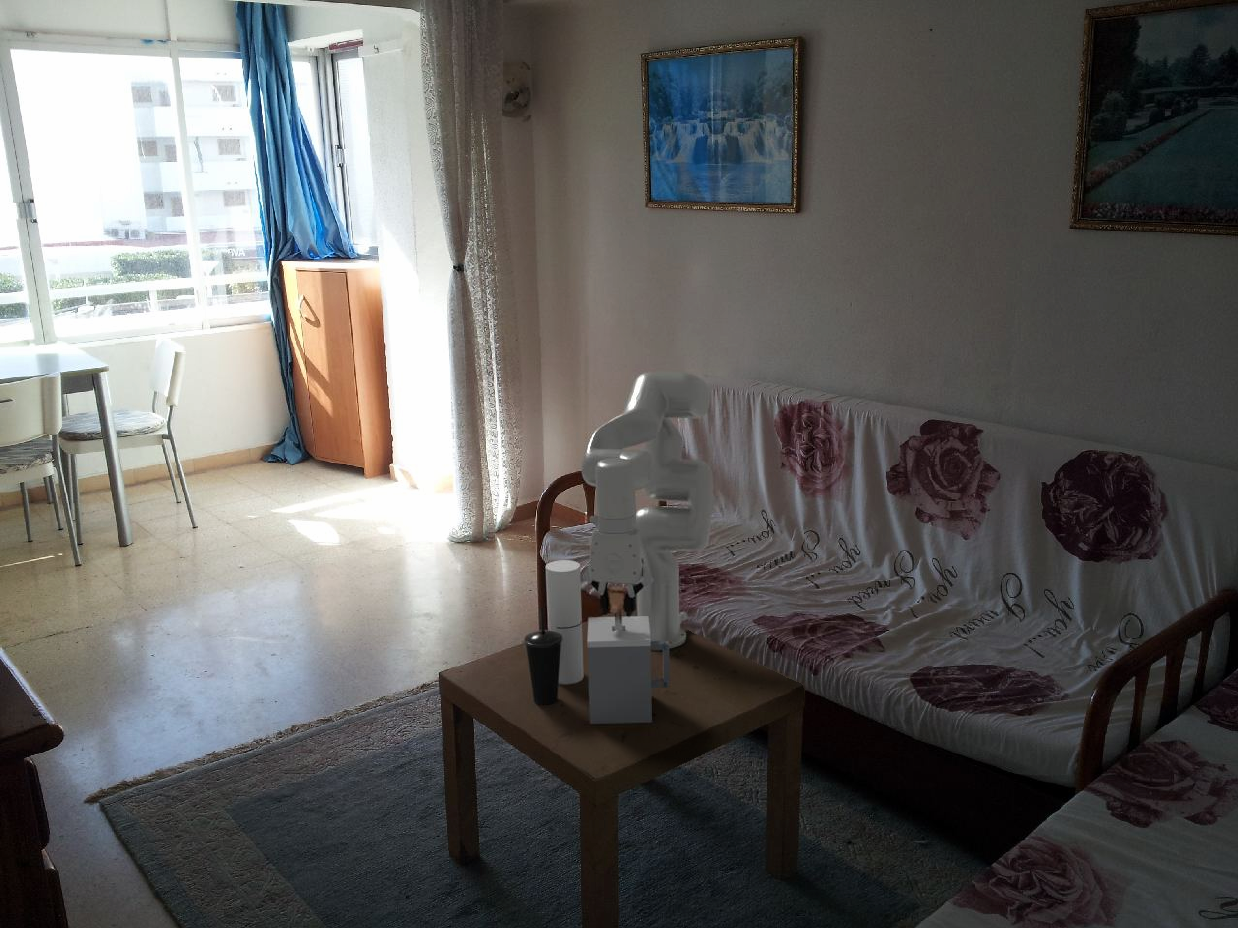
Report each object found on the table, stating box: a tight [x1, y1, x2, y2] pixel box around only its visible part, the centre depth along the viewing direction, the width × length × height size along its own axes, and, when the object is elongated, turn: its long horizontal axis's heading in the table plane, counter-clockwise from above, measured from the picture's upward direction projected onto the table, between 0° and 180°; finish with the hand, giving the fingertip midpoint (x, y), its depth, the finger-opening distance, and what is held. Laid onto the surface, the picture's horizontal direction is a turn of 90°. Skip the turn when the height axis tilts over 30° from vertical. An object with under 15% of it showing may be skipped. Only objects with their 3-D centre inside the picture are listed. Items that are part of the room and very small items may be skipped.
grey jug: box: [586, 615, 671, 725], centre depth 211 cm, size 16×12×17 cm
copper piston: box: [608, 585, 628, 631], centre depth 209 cm, size 9×9×23 cm
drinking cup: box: [523, 607, 562, 707], centre depth 215 cm, size 8×8×20 cm
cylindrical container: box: [545, 559, 585, 685], centre depth 224 cm, size 7×7×25 cm
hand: (618, 612), depth 208 cm, fingers closed on copper piston, 4 cm apart
